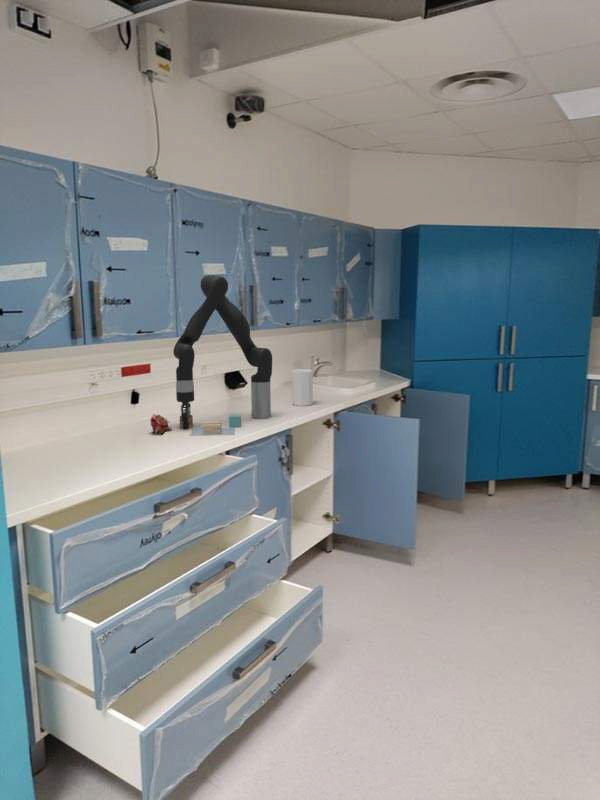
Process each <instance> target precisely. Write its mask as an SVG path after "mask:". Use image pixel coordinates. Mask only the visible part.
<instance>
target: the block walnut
mask: <svg viewBox="0 0 600 800" xmlns="http://www.w3.org/2000/svg"><path fill="white" fill-rule="evenodd" d="M184 418H186V417H184ZM193 418H194V417H193V414H190V416H189V417H188V420H189V421H188V429H193V428H194V427H193V426H194V421H193ZM179 429H183V422H182V416H181V415H180V416H179ZM183 430H184V429H183Z"/></svg>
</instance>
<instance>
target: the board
mask: <svg viewBox="0 0 600 800" xmlns="http://www.w3.org/2000/svg"><path fill="white" fill-rule="evenodd" d="M235 431H236V427H222V432H221V434H210V435H204V427H202V428H201V427H199V428H198V427H197V428H196V427H195V428H194V427H192V430H191V432H190V434H189V436H190V437H197V436H198V437H201V436H203V437H205V436H206V437H207V436H235Z"/></svg>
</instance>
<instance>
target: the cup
mask: <svg viewBox="0 0 600 800" xmlns="http://www.w3.org/2000/svg"><path fill="white" fill-rule="evenodd" d="M313 372H314V371H313V370H312V369H308V368H307V369H306V368H305V369H303V368H302V369H301V368H300V369H292V370H291V404H292V405H293V404H294V405H300V406H299V407H307V406H306V405H310V406H312V405H314V404H313V403H314V401H313V399H314V395H313V393H314V391H313V390H314V387H313V385H314V384H313V383H314V375H313V374H314V373H313ZM294 405H293V406H294Z"/></svg>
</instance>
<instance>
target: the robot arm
mask: <svg viewBox="0 0 600 800" xmlns="http://www.w3.org/2000/svg"><path fill="white" fill-rule="evenodd" d="M200 289H201V292H202V294H203V295H204V296H205V297H206V298H205V300H204V302H203V303H202V304H201V305H200V307H199V308H198V309H197V310H196V311H195V312H194V313H193V314H192V316H191V317H190V319H189V321H188V322H187V325H186V327H185V329H184V331H183V333H182V334H181V336H180V337H179V338H178V339H177V342H176V343H175V345H174V347H173V356H174V357H175V358H176V359H177V360H178V366H177V367H176V369H175V376H176V377H175V378H176V379H175V380H176V382H175V390H176V391H175V394H176V402H178V403H181V405H180V412H181V414H180V416H182V422H183V430H189V428H188V421H189V420H188V417H189V416H190V415H192V414H191V413H192V412H191V409H192V408H191V407H192V406H191V402H194V401H195V386H194V374H193V370H194V363H195V349H194V348H193V345H194V344H195V343H196V342H198V341H199V340H200V338H201V336H202V334H203V332H204V330H205V327H206V326H207V324H208V321H209V320H210V318H211V317H212V315H213V313H214V312H215V310H216V311H217V313H218V315H219V316H220V318H221V320H223V322H224V324H225V326H226V327H227V329H228V330H229V332H230V333H231V335H232V336H233V338H234V339H235V341H236V343H237V344H238V345H239V348H240V349H241V352H242V353H243V355H244V357H245V359H246V361H247V363H248V364H249V365H250V366H251V367H254V368H256V369H257V371H256V373H254V374H252V375H251V377H250V392H251V393H250V394H251V397H250V399H251V418H253V419H268V418H271V417H272V414H271V413H272V409H271V407H272V405H271V404H272V401H271V400H272V397H271V396H272V395H271V393H272V392H271V379H272V378H271V377H272V376H273V375H272V373H273V355H272V352H271V350H270V348H266V347H258V346H257V345H256V344H255V343H254V342H253V340H252V337H251V326H250V323H249V321H248V320H247V318H246V316H245V315H244V313H243V312H242V311H241V310H240V309H239V308H238V307H237V306H236V305H235V304H234V303H233V302H232V301H230V299H229V298H228V297H227V296H226V294H227V292H228V289H229V283H228V280H227V279H226V278H225V277H224V276H221V275H214V274H209V275H208V274H207V275H205V276H203V277H202V279H201V280H200ZM184 417H186V418H184Z"/></svg>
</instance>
